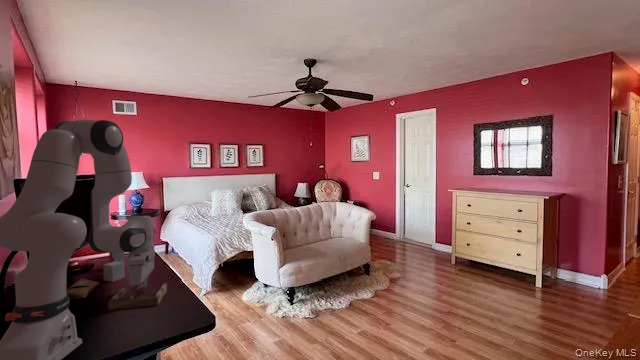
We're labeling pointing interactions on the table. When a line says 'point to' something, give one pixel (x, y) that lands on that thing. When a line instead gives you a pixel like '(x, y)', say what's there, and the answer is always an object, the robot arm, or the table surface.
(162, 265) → the table surface
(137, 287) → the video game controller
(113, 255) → the supplement box
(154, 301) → the birch dock
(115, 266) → the product box
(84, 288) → the sunglasses case
